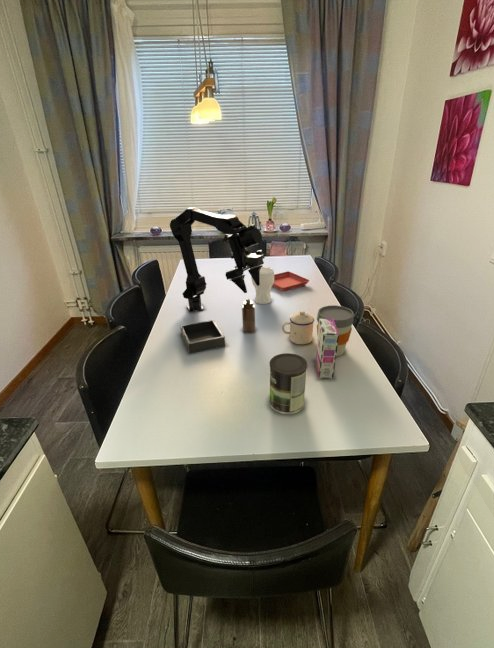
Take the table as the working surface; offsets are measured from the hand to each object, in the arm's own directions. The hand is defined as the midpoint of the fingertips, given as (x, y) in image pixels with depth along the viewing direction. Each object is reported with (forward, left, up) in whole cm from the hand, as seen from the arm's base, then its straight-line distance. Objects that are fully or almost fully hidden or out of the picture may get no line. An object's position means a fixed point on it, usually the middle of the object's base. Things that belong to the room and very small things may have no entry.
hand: (252, 289), depth 138 cm
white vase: (-21, +13, -16) cm, 30 cm away
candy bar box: (+41, +10, -16) cm, 45 cm away
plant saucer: (-36, +32, -16) cm, 51 cm away
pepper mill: (+4, -3, -16) cm, 16 cm away
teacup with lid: (+19, +11, -16) cm, 27 cm away
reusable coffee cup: (+31, +19, -16) cm, 39 cm away
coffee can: (+52, -9, -16) cm, 55 cm away
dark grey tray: (+5, -23, -16) cm, 28 cm away
